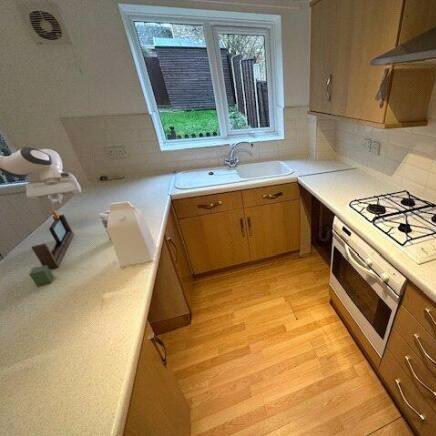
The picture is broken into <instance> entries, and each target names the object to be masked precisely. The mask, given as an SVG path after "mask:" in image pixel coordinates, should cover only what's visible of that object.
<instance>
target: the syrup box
mask: <svg viewBox="0 0 436 436" xmlns="http://www.w3.org/2000/svg"><path fill="white" fill-rule="evenodd" d="M109 212H110V209H108V210H105V211H103V212H101V213H99V217H100V220H101V222H102V225H103V228H104V230H105V233H106V235H107V237H108V240H109V241H110V242H112V241H111V238H110V235H109V232H108V228H107V223H108V217H109Z"/></svg>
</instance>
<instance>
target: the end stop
mask: <svg viewBox="0 0 436 436" xmlns="http://www.w3.org/2000/svg"><path fill="white" fill-rule="evenodd" d="M28 275H29V277H30V278H31V279H32V281H33V282H34V284H35V285H36V287H41V286H45V285H49V284H52V283H53V280H54V278H55V276H54V274H53V273H52V271H51V270H50V269H49V268H48V266H47V265H44V266H43V265H41V266H37V267H33V268H32V269H31V270H30V272H29V274H28Z"/></svg>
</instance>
